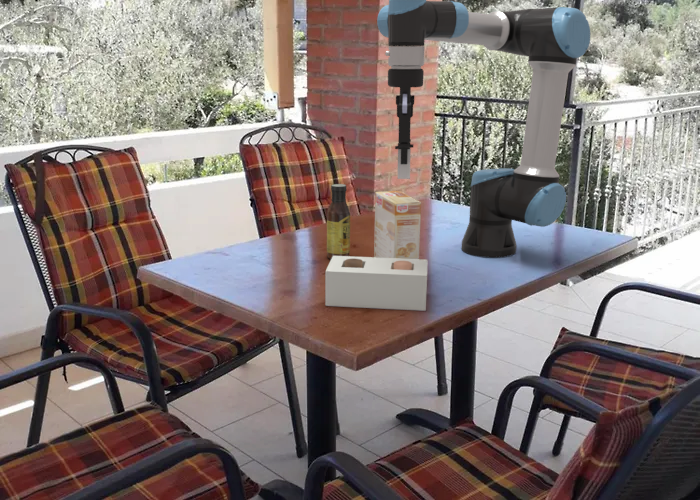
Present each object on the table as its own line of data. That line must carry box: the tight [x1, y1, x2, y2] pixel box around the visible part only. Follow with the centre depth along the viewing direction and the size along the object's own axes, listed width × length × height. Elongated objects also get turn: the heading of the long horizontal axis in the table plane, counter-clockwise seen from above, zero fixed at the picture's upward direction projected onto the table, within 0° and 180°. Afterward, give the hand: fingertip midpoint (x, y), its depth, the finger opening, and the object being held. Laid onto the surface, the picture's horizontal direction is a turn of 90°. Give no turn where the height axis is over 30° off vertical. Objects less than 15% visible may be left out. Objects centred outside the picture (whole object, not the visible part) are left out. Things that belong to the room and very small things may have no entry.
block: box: [324, 255, 429, 312], centre depth 160 cm, size 22×12×8 cm, turn 83°
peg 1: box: [345, 259, 363, 268], centre depth 160 cm, size 4×4×8 cm
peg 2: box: [394, 261, 412, 270], centre depth 159 cm, size 4×4×8 cm
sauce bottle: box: [326, 183, 351, 260], centre depth 189 cm, size 7×6×20 cm
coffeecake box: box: [373, 190, 422, 259], centre depth 178 cm, size 15×7×20 cm, turn 17°
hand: (403, 178), depth 156 cm, fingers closed
